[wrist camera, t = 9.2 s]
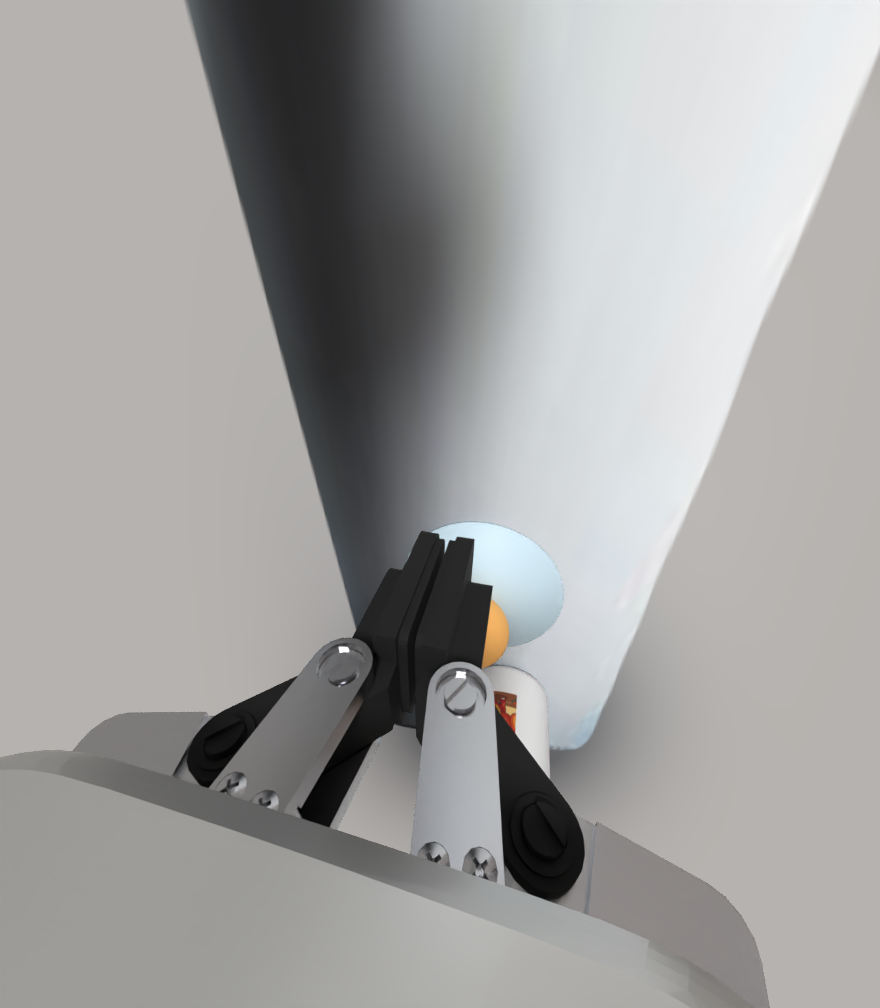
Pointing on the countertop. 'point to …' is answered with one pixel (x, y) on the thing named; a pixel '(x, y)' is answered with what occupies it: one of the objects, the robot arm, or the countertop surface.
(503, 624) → the ball
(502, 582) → the disc
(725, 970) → the robot arm
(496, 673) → the milk bottle
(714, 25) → the countertop surface
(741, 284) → the countertop surface
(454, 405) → the countertop surface
